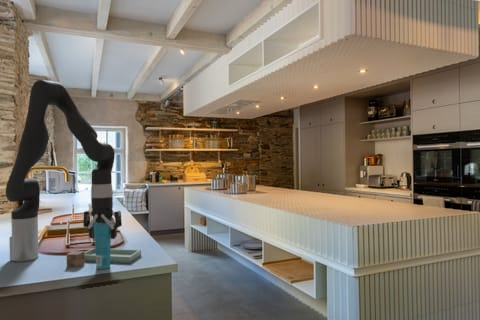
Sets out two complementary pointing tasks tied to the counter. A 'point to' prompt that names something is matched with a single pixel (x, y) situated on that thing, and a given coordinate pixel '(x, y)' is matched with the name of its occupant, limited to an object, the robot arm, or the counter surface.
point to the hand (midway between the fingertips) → (102, 238)
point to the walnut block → (75, 259)
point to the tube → (102, 244)
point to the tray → (115, 255)
